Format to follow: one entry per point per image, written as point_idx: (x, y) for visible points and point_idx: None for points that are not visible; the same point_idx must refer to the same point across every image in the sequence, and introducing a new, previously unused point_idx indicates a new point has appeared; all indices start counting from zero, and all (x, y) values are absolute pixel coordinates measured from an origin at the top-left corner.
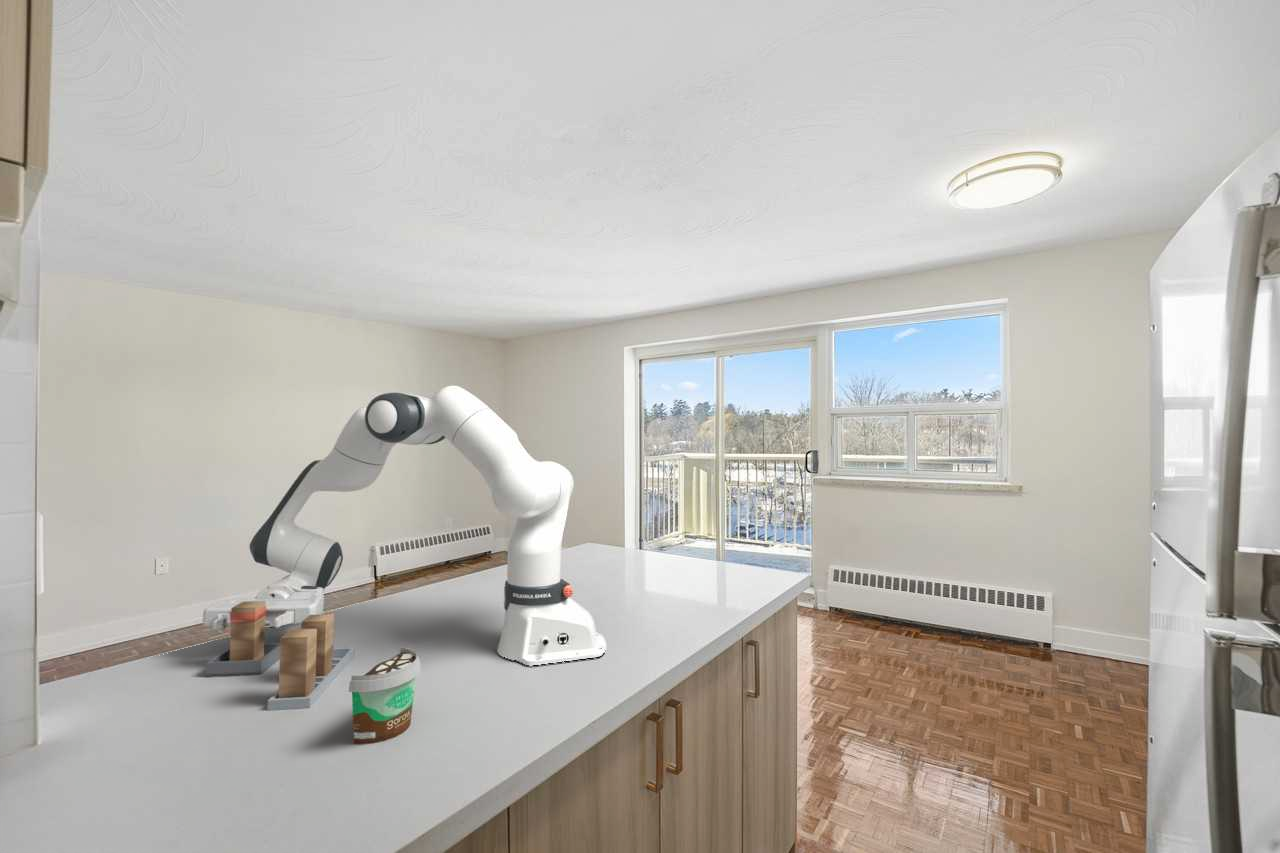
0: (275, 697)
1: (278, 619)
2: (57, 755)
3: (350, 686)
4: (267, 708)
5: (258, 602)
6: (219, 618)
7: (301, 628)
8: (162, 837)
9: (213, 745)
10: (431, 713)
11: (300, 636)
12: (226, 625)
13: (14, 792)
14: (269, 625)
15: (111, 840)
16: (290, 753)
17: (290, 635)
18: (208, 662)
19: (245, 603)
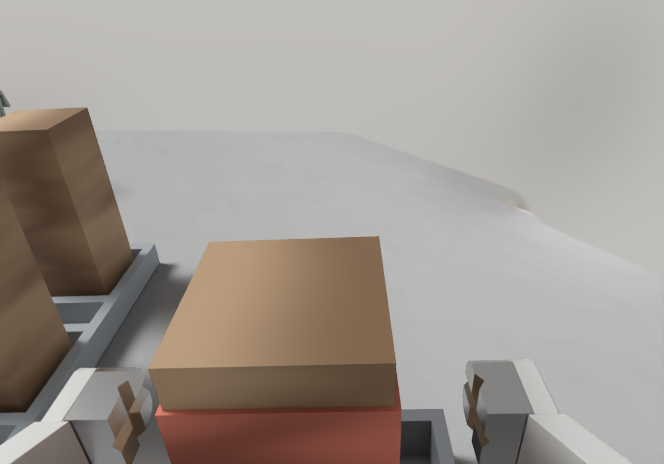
0: (139, 255)
1: (76, 378)
2: (448, 191)
3: (4, 98)
4: (158, 258)
5: (214, 332)
6: (538, 398)
7: (1, 185)
8: (222, 133)
9: (227, 199)
10: None
11: (33, 110)
12: (477, 447)
13: (416, 157)
14: (147, 393)
15: (262, 132)
16: (117, 186)
17: (58, 113)
18: (438, 415)
19: (333, 317)
